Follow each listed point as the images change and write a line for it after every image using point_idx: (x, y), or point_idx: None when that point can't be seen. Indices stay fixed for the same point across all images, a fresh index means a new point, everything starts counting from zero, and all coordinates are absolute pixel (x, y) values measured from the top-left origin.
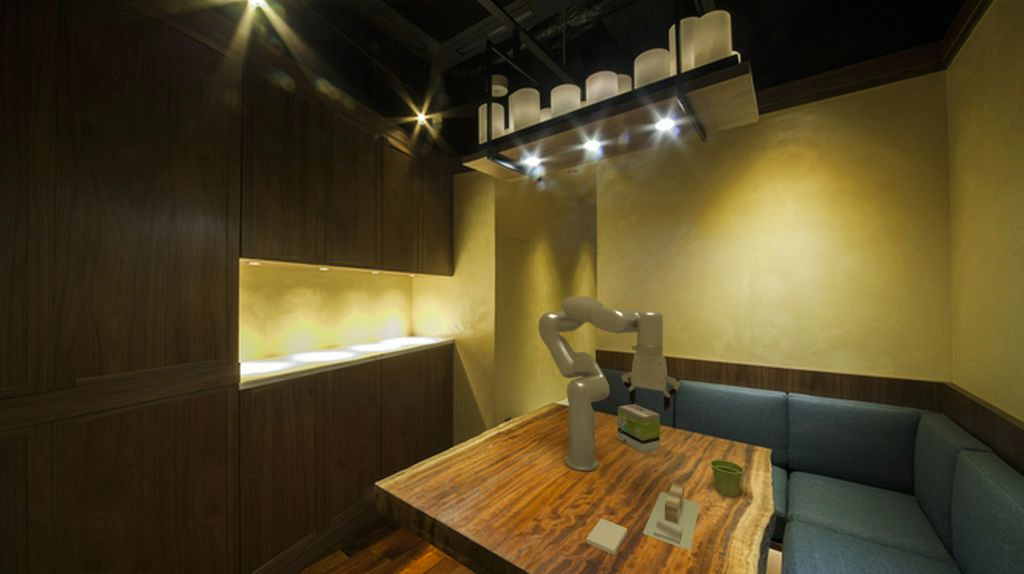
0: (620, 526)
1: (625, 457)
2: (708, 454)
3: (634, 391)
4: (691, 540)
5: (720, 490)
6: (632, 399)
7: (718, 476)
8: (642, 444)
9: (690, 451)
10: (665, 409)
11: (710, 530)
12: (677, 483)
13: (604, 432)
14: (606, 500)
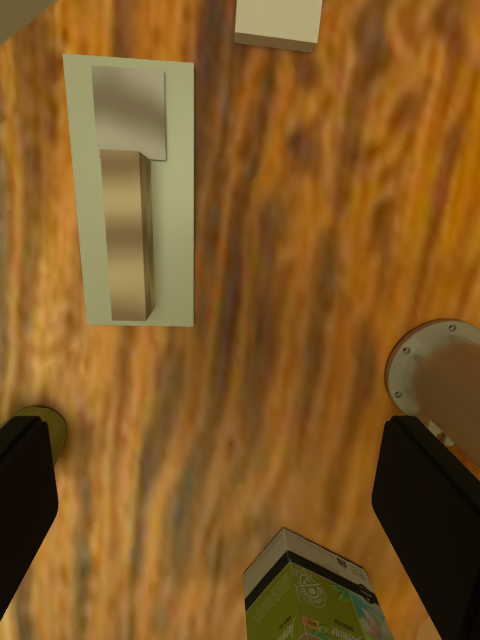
0: (254, 30)
1: (322, 475)
2: (119, 610)
3: (471, 600)
4: (69, 111)
5: (45, 414)
6: (429, 448)
7: None
8: (287, 549)
9: (164, 602)
10: (21, 418)
11: (43, 213)
12: (132, 320)
13: (407, 589)
14: (324, 200)
